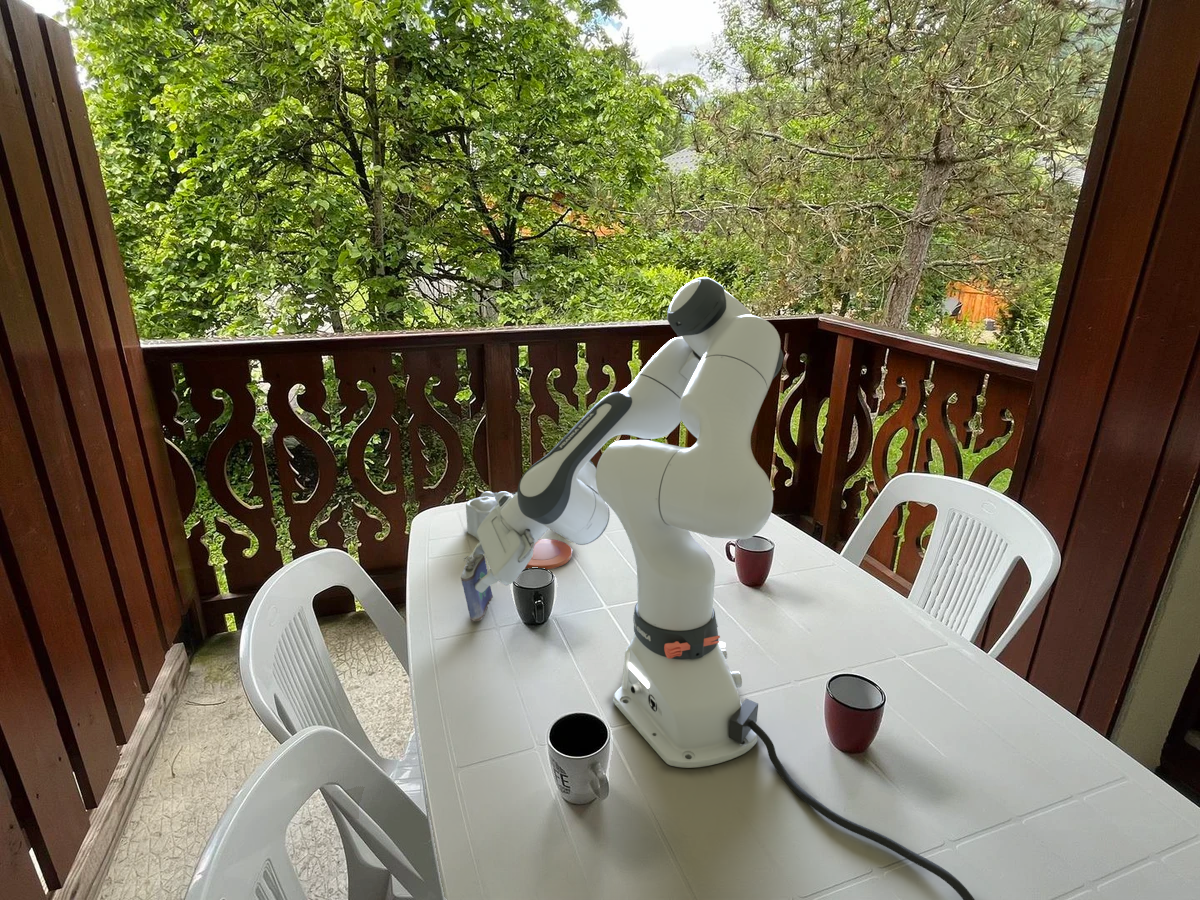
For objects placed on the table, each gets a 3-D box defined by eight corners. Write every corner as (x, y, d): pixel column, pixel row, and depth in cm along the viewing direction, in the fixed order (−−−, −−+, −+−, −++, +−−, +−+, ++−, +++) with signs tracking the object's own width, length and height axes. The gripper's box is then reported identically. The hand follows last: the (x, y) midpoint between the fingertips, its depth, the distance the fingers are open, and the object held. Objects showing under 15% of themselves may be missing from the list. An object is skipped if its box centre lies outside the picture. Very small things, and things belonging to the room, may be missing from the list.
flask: (481, 621, 114) (469, 569, 111) (466, 622, 114) (453, 570, 111) (495, 594, 122) (484, 544, 119) (480, 595, 123) (469, 545, 120)
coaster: (579, 564, 136) (579, 560, 136) (519, 574, 132) (519, 569, 132) (562, 539, 148) (562, 535, 148) (507, 547, 144) (507, 543, 144)
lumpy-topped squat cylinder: (462, 529, 153) (460, 496, 151) (508, 515, 161) (507, 483, 159) (484, 544, 146) (482, 509, 143) (531, 528, 154) (530, 495, 151)
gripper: (550, 553, 108) (496, 614, 108) (524, 509, 127) (478, 561, 127) (523, 533, 106) (468, 595, 106) (500, 491, 124) (453, 544, 124)
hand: (473, 576), depth 116 cm, fingers closed on flask, 8 cm apart
